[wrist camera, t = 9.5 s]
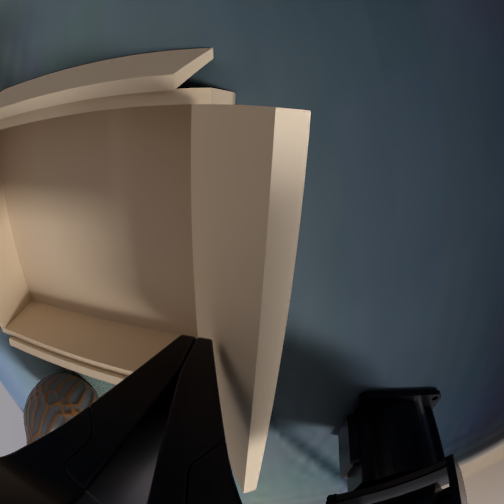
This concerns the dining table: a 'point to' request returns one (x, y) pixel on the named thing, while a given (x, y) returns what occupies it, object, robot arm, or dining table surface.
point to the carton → (100, 211)
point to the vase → (55, 403)
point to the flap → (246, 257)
